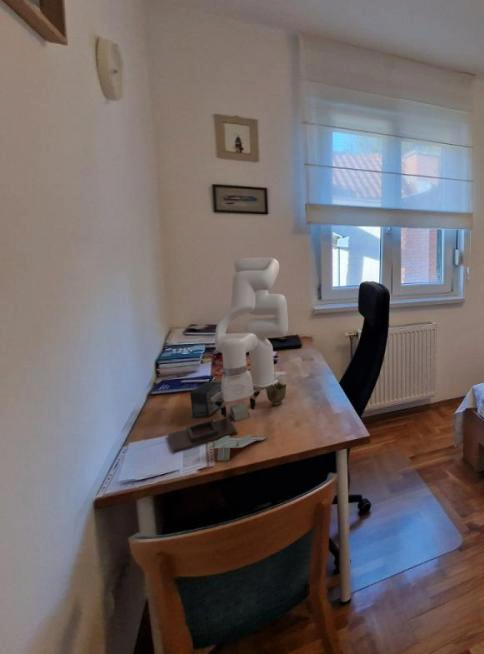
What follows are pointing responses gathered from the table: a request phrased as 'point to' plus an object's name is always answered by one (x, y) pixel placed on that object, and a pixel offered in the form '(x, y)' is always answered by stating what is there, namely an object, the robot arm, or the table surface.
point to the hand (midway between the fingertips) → (238, 412)
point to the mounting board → (201, 434)
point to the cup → (276, 393)
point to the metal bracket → (231, 445)
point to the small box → (205, 399)
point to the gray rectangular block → (239, 411)
